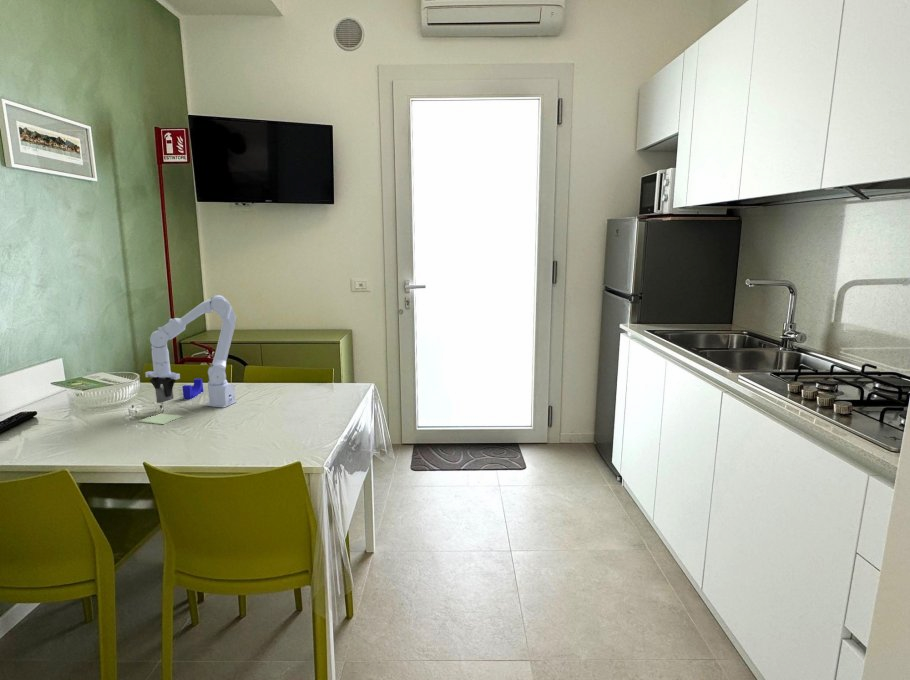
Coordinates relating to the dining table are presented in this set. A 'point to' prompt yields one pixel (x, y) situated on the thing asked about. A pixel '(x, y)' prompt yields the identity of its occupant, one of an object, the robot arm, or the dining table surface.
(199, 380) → the blue u-shaped block
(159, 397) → the dark grey block
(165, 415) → the sage mat
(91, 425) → the dining table surface
